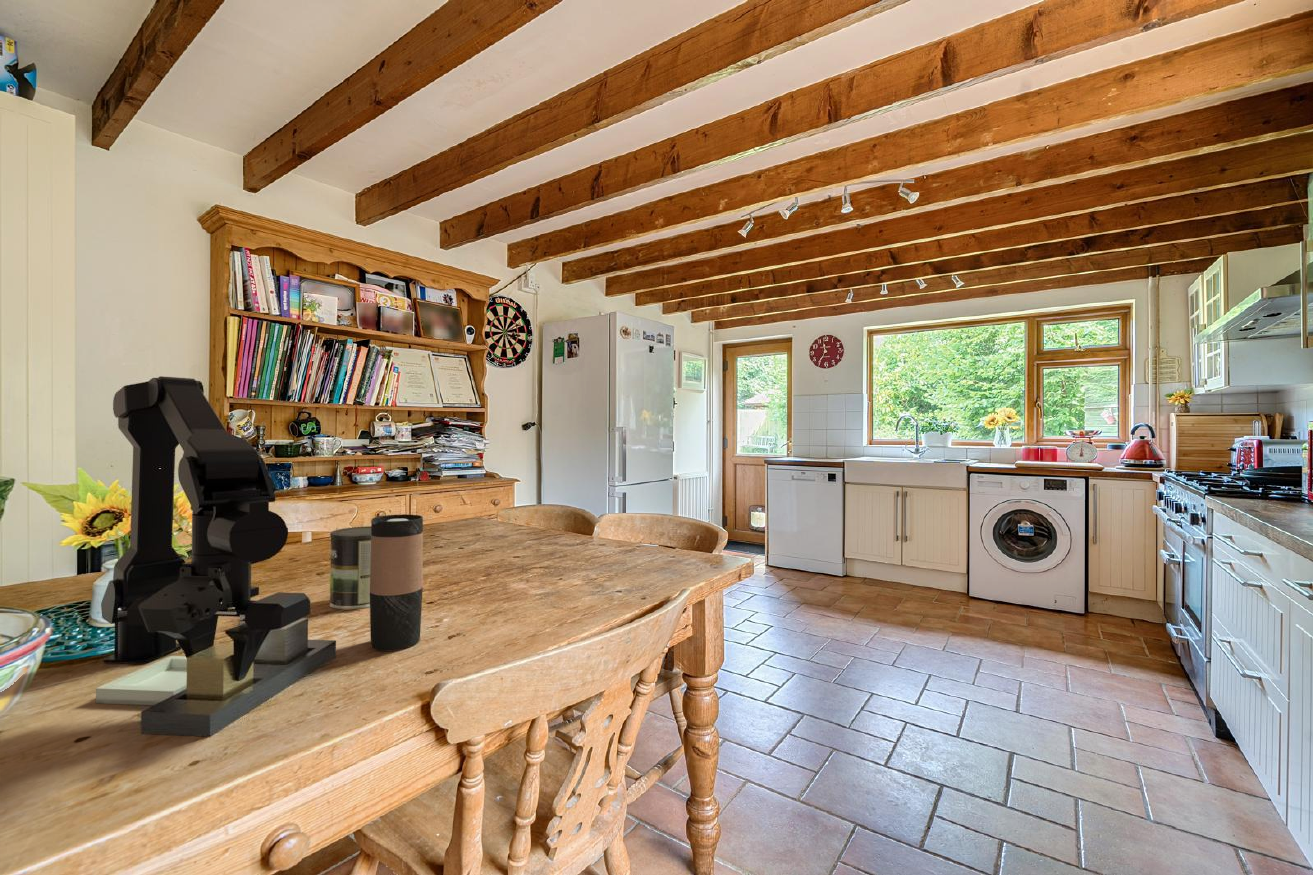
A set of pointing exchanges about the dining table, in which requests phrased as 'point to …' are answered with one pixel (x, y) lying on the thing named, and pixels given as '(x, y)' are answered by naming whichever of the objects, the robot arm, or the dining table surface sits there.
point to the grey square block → (284, 644)
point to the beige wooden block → (214, 674)
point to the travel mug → (396, 581)
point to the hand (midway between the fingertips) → (221, 679)
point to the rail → (215, 715)
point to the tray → (147, 684)
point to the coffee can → (350, 568)
